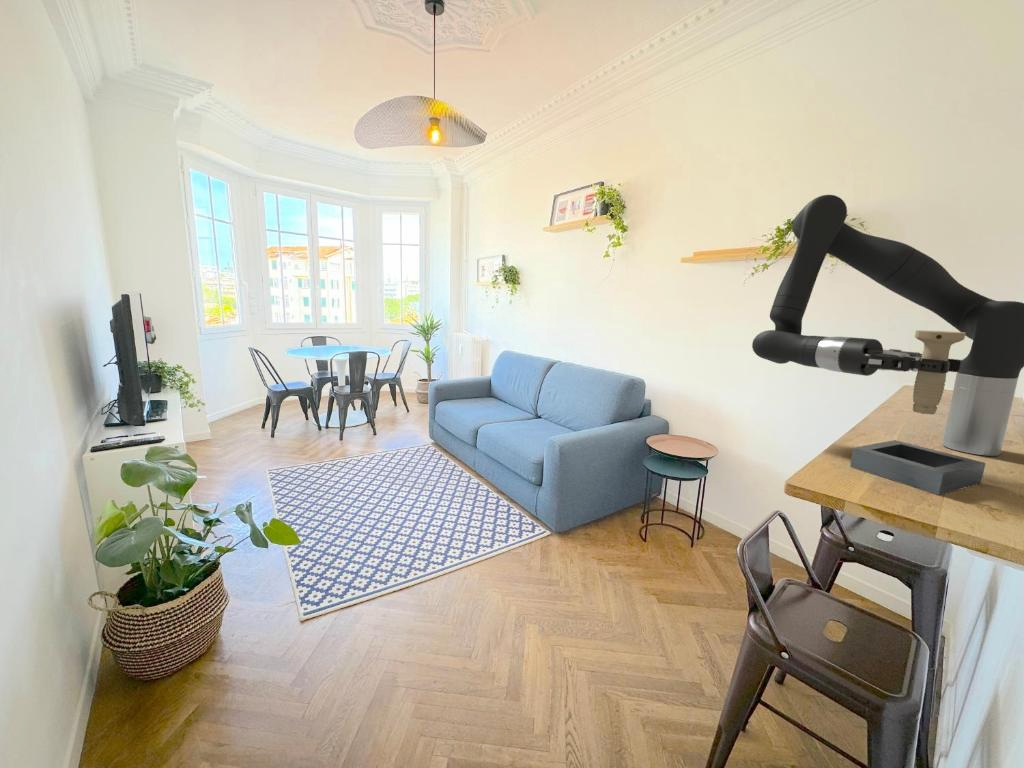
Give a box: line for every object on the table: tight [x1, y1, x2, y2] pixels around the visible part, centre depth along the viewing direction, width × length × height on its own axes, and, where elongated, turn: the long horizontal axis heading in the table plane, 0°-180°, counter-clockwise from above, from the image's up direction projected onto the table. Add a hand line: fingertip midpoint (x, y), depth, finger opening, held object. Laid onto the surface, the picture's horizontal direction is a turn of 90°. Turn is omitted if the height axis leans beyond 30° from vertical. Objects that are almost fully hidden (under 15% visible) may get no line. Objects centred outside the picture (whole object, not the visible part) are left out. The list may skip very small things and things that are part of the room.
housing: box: [849, 439, 986, 496], centre depth 83 cm, size 14×14×4 cm
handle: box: [912, 329, 966, 415], centre depth 79 cm, size 5×6×15 cm
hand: (954, 366), depth 76 cm, fingers closed on handle, 3 cm apart
